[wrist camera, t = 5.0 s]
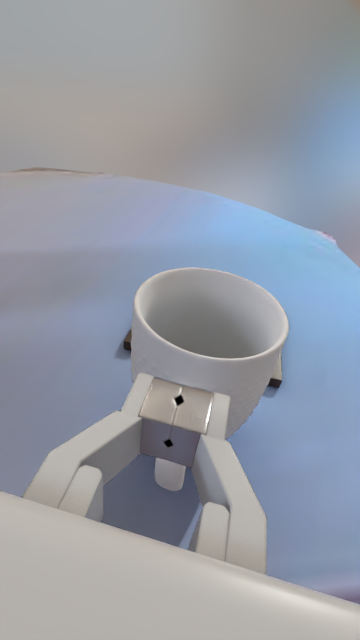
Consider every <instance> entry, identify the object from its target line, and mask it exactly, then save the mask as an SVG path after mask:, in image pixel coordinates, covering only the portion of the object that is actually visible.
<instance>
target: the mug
mask: <svg viewBox="0 0 360 640" xmlns="http://www.w3.org/2000/svg"><path fill="white" fill-rule="evenodd" d="M288 329H289V324H288V319H287V316H286V313H285V311H284V310H283V308H282V306H281V305H280V303H279V302H278V301H277V300H276V299H275V297H273V296H272V295H271V294H270V293H269V292H268V291H266V290H265V289H264V288H262V287H261V286H259V285H257V284H255V283H254V282H252V281H250V280H247V279H245V278H243V277H240V276H237V275H234V274H231V273H228V272H223V271H219V270H213V269H205V268H179V269H172V270H168V271H164V272H161V273H159V274H156V275H154V276H153V277H151V278H149V279H148V280H146V281H145V282H144V283H143V284H142V285H141V286H140V287H139V289H138V290H137V292H136V294H135V298H134V303H133V319H132V327H131V330H132V331H131V333H132V338H131V361H132V365H131V371H132V382H133V383H134V381H135V379H136V377H137V375H138V374H139V373H144V374H148V375H151V376H155V377H159V378H162V379H166V380H169V381H173V382H176V383H179V384H183V385H184V384H185V385H189V386H193V387H197V388H201V389H205V390H209V391H213V392H216V393H220V394H224V395H228V396H230V405H229V412H228V420H227V427H226V435H225V440H226V439H227V438H229V437H231V436H232V435H233V434H234V432H236V431H237V430H238V429H239V428H240V427H241V425H242V424H244V423H245V422H246V420H247V418H248V417H249V416H250V415H251V414H252V412H253V410H254V408H255V407H256V406H257V405H258V403H259V400H260V398H261V397H262V395H263V394H264V391H265V389H266V387H267V385H268V384H269V381H270V378H271V375H272V374H273V372H274V370H275V365H276V363H277V362H278V360H279V355H280V353H281V351H282V348H283V346H284V343H285V341H286V338H287V335H288ZM185 469H186V466H183V465H180V464H177V463H173V462H170V461H167V460H164V459H160V458H156V462H155V480H156V482H157V483H158V484H159V485H160V486H161V487H163V488H165V489H167V490H170V491H178V490H180V489H182V486H183V482H184V476H185Z"/></svg>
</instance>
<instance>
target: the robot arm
mask: <svg viewBox="0 0 360 640" xmlns="http://www.w3.org/2000/svg"><path fill="white" fill-rule="evenodd" d="M229 405H230V396H228V395H224V394H220V393H216V392H213V391H209V390H205V389H201V388H197V387H193V386H189V385H185V384H184V385H183V384H179V383H176V382H173V381H169V380H166V379H162V378H159V377H155V376H151V375H148V374H144V373H139V374H138V375H137V377H136V379H135V381H134V383H133V386H132V388H131V390H130V392H129V394H128V396H127V398H126V400H125V403H124V405H123V407H122V409H121V411H114V412H113V413H111V414H109V415H108V416H106V417H105V418H103V419H102V420H100V421H98V422H97V423H95V424H94V425H92V426H90V427H89V428H87V429H86V430H84V431H82V432H81V433H79V434H78V435H76V436H74V437H73V438H71V439H70V440H68V441H67V442H65V443H63V444H62V445H60V446H59V447H57V448H55V449H54V450H52V451H51V452H49V454H48V455H47V457H46V459H45V460H44V462H43V463H42V465H41V467H40V468H39V470H38V472H37V473H36V475H35V476H34V478H33V480H32V481H31V483H30V485H29V486H28V488H27V490H26V491H25V493H24V494H23V496H22V498H21V497H18V496H15V495H12V494H9V493H6V492H2V491H0V640H360V604H356V603H353V602H350V601H347V600H344V599H341V598H338V597H334V596H331V595H328V594H325V593H322V592H319V591H315V590H312V589H309V588H306V587H303V586H300V585H296V584H293V583H290V582H287V581H284V580H281V579H278V578H274V577H271V576H268V575H266V536H267V517H266V515H265V513H264V511H263V509H262V507H261V505H260V503H259V501H258V499H257V497H256V495H255V493H254V491H253V489H252V487H251V485H250V483H249V481H248V479H247V477H246V475H245V473H244V470H243V468H242V466H241V464H240V462H239V460H238V458H237V456H236V454H235V452H234V450H233V448H232V446H231V444H230V442H228V441H225V435H226V427H227V420H228V412H229ZM139 453H141V454H144V455H148V456H152V457H156V458H160V459H164V460H167V461H170V462H173V463H177V464H180V465H183V466H186V467H189V468H191V471H192V474H193V477H194V481H195V484H196V487H197V490H198V494H199V497H200V500H201V504H202V507H203V509H202V511H201V514H200V517H199V519H198V522H197V525H196V527H195V530H194V532H193V535H192V538H191V540H190V544H189V549H188V550H186V549H183V548H180V547H176V546H173V545H170V544H167V543H164V542H161V541H157V540H154V539H151V538H148V537H145V536H142V535H139V534H135V533H132V532H129V531H126V530H123V529H120V528H116V527H113V526H110V525H107V524H104V523H101V521H102V518H103V516H104V510H103V487H104V486H105V485H106V484H107V483H108V482H109V481H110V480H111V479H113V478H114V477H115V476H116V475H117V474H118V473H119V472H120V471H122V470H123V469H124V468H125V467H126V466H127V465H128V464H129V463H131V462H132V461H133V460H134V459H135V458H136V457H137V456H138V455H139Z"/></svg>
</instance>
